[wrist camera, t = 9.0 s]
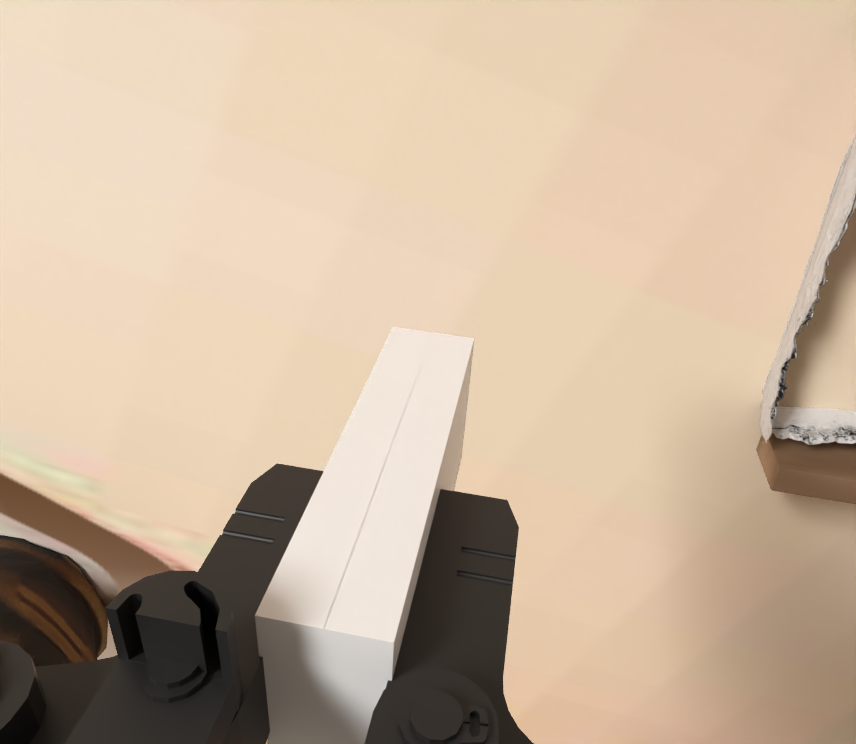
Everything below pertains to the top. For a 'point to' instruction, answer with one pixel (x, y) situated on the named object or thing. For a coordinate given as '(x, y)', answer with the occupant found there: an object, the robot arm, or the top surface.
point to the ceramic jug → (48, 606)
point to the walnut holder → (810, 468)
